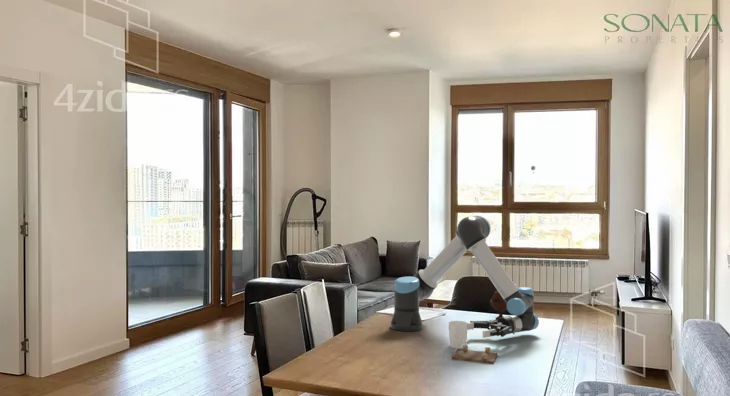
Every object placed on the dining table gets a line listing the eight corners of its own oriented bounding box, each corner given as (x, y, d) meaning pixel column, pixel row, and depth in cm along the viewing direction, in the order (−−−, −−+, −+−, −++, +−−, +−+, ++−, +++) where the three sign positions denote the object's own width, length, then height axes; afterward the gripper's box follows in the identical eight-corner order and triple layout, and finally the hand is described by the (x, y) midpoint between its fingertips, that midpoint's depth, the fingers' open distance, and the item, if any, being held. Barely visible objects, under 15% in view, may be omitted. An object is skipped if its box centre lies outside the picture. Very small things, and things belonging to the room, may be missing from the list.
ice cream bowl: (514, 321, 287) (514, 291, 286) (491, 321, 287) (492, 291, 287) (509, 317, 297) (509, 288, 297) (487, 316, 298) (488, 287, 297)
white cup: (467, 349, 237) (467, 325, 236) (447, 348, 238) (448, 324, 238) (467, 344, 244) (468, 321, 244) (449, 343, 246) (449, 320, 246)
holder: (451, 359, 223) (451, 351, 223) (457, 351, 234) (457, 343, 234) (493, 363, 218) (493, 356, 218) (497, 355, 229) (497, 347, 229)
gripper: (530, 339, 245) (492, 346, 234) (489, 327, 266) (453, 333, 255) (530, 322, 245) (493, 328, 234) (489, 311, 266) (453, 316, 255)
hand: (472, 330), depth 244 cm, fingers open, 13 cm apart
